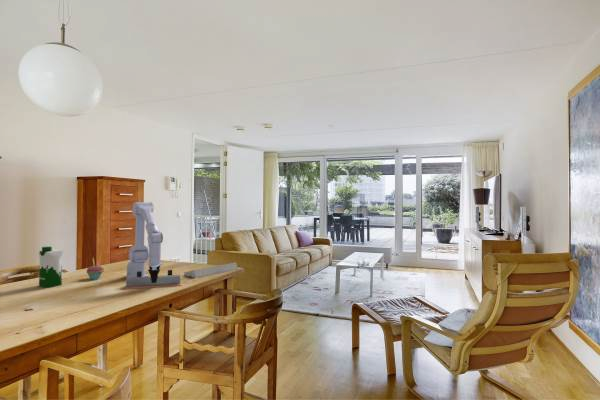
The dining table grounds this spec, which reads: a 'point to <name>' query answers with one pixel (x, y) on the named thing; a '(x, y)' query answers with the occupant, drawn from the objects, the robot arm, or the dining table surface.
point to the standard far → (169, 272)
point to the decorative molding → (211, 270)
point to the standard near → (139, 273)
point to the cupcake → (95, 271)
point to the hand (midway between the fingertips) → (154, 281)
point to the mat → (153, 286)
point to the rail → (147, 282)
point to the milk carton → (50, 267)
